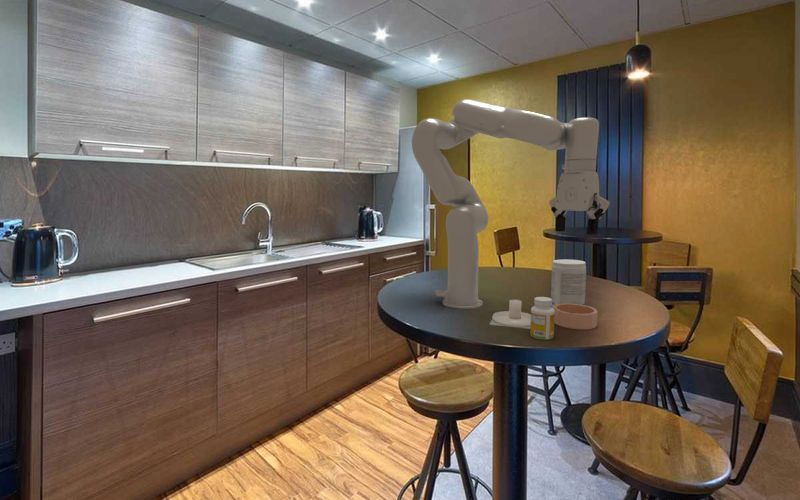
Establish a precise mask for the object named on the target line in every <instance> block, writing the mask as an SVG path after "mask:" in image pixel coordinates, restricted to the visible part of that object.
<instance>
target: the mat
mask: <svg viewBox="0 0 800 500" xmlns="http://www.w3.org/2000/svg"><path fill="white" fill-rule="evenodd" d="M495 313H497V311H495V312H494V313H493V314H495ZM489 325H490V326H500V327H507V328H508V327H509V328H511V327H510V326H504V325H501V324H498V323H496V322H494V321H493V320H492V319H491V320H490V322H489ZM514 328H515V329H516V328H517V329H527V330H530V327H514Z"/></svg>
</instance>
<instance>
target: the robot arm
mask: <svg viewBox="0 0 800 500" xmlns="http://www.w3.org/2000/svg"><path fill="white" fill-rule="evenodd" d="M451 118H452V119H451V120H449V121H447V122H446V121H444V120H443V119H442V120H441V119H439V118H435V117H429V118H424V119H422V120H421V121H420V122H419V123H418V124H417V125H416V126H415V128H414V130H413V132H412V136H411V137H412V138H411V149H412V153H413V155H414V156H413V157H414V158H415V160H416V162H417V165H418V166H419V168H420V169H421V171H422V173H423V175H424V178H425V180H426V182H427V183H428V185H429V187H430V189H431V191H432V193H433V195H434V197H435V199H436V200H437V202H438V203H440V204H441V205H444V206H452V208H451V209H450V210H449V212H448V213H447V214H446V219H445V231H446V237H447V289H444V290H441V289H435V290H434V296H435V297H436V298H443V300H442V305H443V306H444V307H449V308H452V309H461V310H464V309H465V310H467V309H469V310H471V309H476V308H480V307H482V306H483V304H484V303H483V300H481V299H480V298H479V258H480V257H479V252H480V250H479V240H478V234H479V233H482V231H484V230H485V229H486V228H487V226H488V224H489V215H488V211H487V209H486V208H485V205H484V204H483V201H482V200H481V198H480V196H479V194H478V193H477V191H476V189H475V188H474V187H475V186H473V184H472V182H470V180H469V179H467V178H466V177H464V176H461V175H457V174H456V173H455V172H454V170H453V169H452V167H451V165H450V163H449V161H448V159H447V158H446V156H445V155H444V154H443V153H442V151H441V150H450V149H453V148H454V147H456V146H459V145H460V144H462V143H463V142H465V141H467V140H469V139H471V138H472V137H474V136H476V135H478V134H483V135H486V136H490V137H494V138H497V139H505V138H506V139H512V140H517V141H521V142H524V143H528V144H532V145H535V146H538V147H541V148H542V149H545V150H548V151H559V150H564V149H565V156H564V164H561V169H562V170H564V171H563V173H561V174H560V177H559V180H558V185H557V188H556V189H557V190H556V196H555V197H553V198H552V199H550V200H549V202H548V204H549V206H550V208H551V209H550V210H551V212H552V213H553V216H554V217H555V232H565V231H566V220H567V219H566V214H567V212H570V211H571V212H586V214H587V215H588V217H589V218H588V220H587V227H586V228H587V229H586V233H587V235H597V234H598V230H599V220H600V219H601V218H602V217H603V215H604V214H605V213H606V212H607V210H608V208H609V206H610V204H611V202H610V201H609V200H608V199H606V198H604V197H602V196H601V195H600V180H599V179H600V178H599V175H598V174H599V173H598V172H597V171H596V170H597V157H598V146H599V144H598V143H599V132H600V131H599V129H600V122H599V119H597V118H595V117H577V118H573V119H571V120H569V122H561V121H560V120H558V119H557V118H556V117H553V116H550V115H547V114H543V113H537V112H533V111H530V110H529V111H527V110H522V109H516V108H513V107H506V106H502V105H498V104H495V103H494V104H492V103H488V102H484V101H480V100H476V99H470V98H464V99H463V98H462V99H460V100H458V101H457V102H456V103H455V104H454V106H453V108H452V112H451ZM599 204H600V206H599ZM598 207H599V208H598Z"/></svg>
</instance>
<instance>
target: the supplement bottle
mask: <svg viewBox="0 0 800 500" xmlns="http://www.w3.org/2000/svg"><path fill="white" fill-rule="evenodd" d="M533 299H534V300H533V301H534V302H533V303H534V305H533V306H532V307H531V308H530V314H531V325H530V329H529V330H530V332H529V334H530V336H531V337H532V338H535V339H538V340H551V339H553V338H554V336H555V323H554V317H555V311H554V309H553V307H551V305H552V299H551V297H547V296H536V297H534V298H533Z"/></svg>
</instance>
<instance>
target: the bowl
mask: <svg viewBox="0 0 800 500" xmlns="http://www.w3.org/2000/svg"><path fill="white" fill-rule="evenodd" d="M552 308H553V309H554V311H555V317H554V325H557V326H559V327H562V328H567V329H572V330H592V329H595V328H596V327H597V326H598V314H599V312H598V310H597V309H596V308H594V307H592V306H590V305H586V304H585V305H580V304H570V303H566V304H557V305H554V306H553V307H552Z"/></svg>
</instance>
